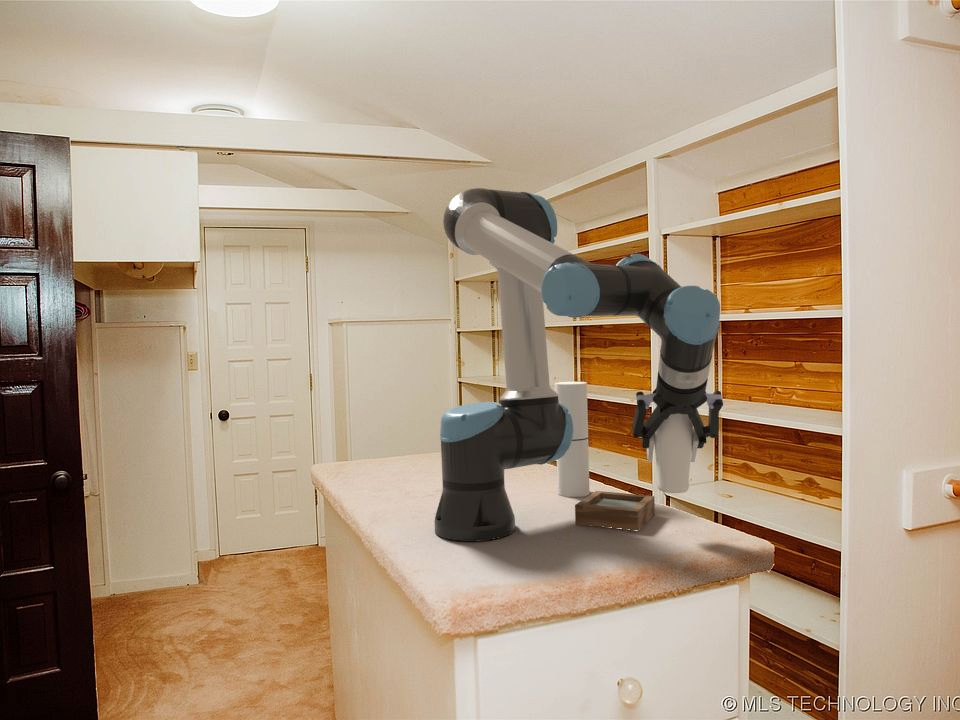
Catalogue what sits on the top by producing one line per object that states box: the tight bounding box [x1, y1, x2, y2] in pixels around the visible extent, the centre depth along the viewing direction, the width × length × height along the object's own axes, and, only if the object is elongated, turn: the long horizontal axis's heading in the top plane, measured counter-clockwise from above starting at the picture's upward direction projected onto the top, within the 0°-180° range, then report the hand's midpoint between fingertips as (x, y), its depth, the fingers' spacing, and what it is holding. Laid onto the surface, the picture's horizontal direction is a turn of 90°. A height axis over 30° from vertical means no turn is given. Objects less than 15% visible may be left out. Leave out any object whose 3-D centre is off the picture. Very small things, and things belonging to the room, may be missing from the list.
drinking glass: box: [652, 404, 694, 494], centre depth 116 cm, size 7×7×15 cm
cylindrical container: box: [554, 381, 591, 498], centre depth 149 cm, size 7×7×25 cm
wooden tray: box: [574, 490, 656, 531], centre depth 128 cm, size 12×12×4 cm
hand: (670, 455), depth 120 cm, fingers closed on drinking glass, 7 cm apart
